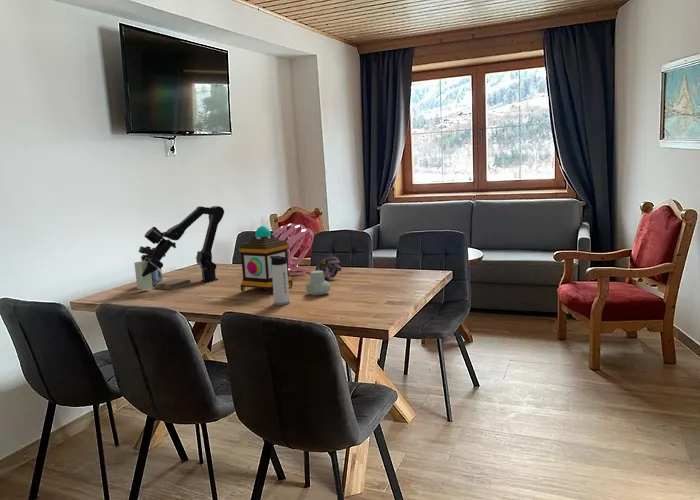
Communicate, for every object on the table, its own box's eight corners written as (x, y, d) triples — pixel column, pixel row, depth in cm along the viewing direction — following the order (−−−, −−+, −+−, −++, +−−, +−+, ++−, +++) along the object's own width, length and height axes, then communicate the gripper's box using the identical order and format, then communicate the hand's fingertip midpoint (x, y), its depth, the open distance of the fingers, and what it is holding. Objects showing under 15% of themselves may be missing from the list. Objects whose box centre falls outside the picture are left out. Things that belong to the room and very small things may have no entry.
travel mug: (273, 302, 234) (270, 255, 231) (289, 301, 234) (286, 254, 231) (273, 305, 228) (269, 257, 225) (289, 304, 228) (285, 256, 225)
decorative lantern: (269, 296, 247) (264, 228, 242) (236, 292, 257) (231, 228, 253) (297, 286, 263) (292, 223, 259) (264, 284, 274) (260, 223, 270)
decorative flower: (305, 259, 281) (332, 248, 286) (311, 278, 287) (336, 267, 291) (317, 271, 269) (344, 259, 274) (322, 290, 275) (349, 278, 279)
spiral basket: (336, 234, 294) (296, 206, 301) (306, 255, 273) (264, 225, 279) (320, 272, 311) (282, 245, 317) (290, 295, 289) (251, 265, 296)
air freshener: (304, 293, 247) (302, 271, 246) (319, 290, 252) (318, 268, 251) (317, 297, 239) (316, 274, 237) (333, 294, 243) (332, 271, 242)
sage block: (152, 287, 272) (149, 261, 270) (144, 289, 268) (141, 263, 266) (145, 286, 275) (142, 260, 273) (137, 289, 271) (134, 262, 269)
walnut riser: (190, 284, 282) (190, 279, 282) (172, 289, 272) (171, 284, 271) (174, 283, 288) (173, 278, 288) (155, 288, 278) (155, 283, 278)
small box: (152, 287, 280) (150, 267, 279) (140, 287, 282) (138, 267, 280) (163, 283, 290) (161, 263, 289) (152, 283, 292) (150, 263, 290)
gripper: (142, 238, 278) (122, 263, 273) (153, 241, 263) (131, 267, 258) (160, 251, 283) (140, 276, 279) (172, 255, 268) (151, 281, 264)
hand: (140, 275), depth 270 cm, fingers closed on sage block, 6 cm apart
